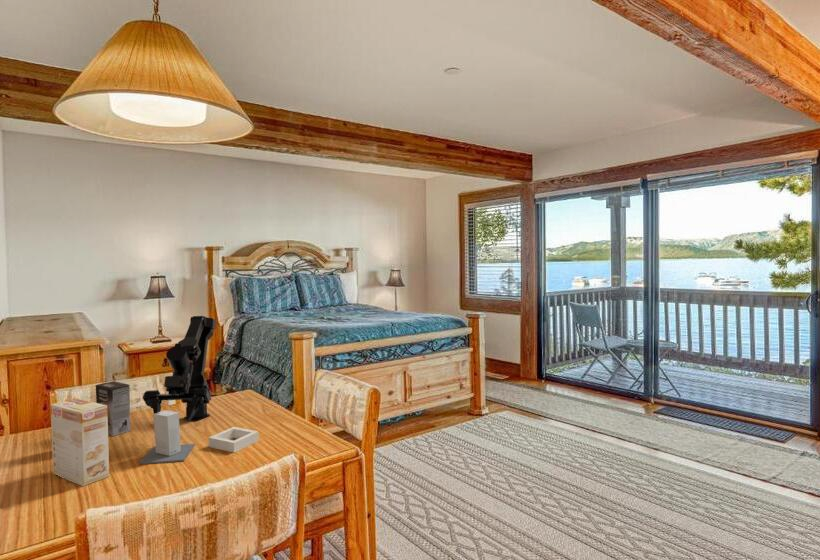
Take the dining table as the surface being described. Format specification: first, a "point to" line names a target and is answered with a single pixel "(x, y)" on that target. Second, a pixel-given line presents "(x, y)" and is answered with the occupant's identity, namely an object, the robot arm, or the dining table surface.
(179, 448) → the skincare box
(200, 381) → the robot arm
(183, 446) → the mat
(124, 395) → the coffee box
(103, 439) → the coffeecake box
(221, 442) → the white square frame
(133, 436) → the dining table surface
